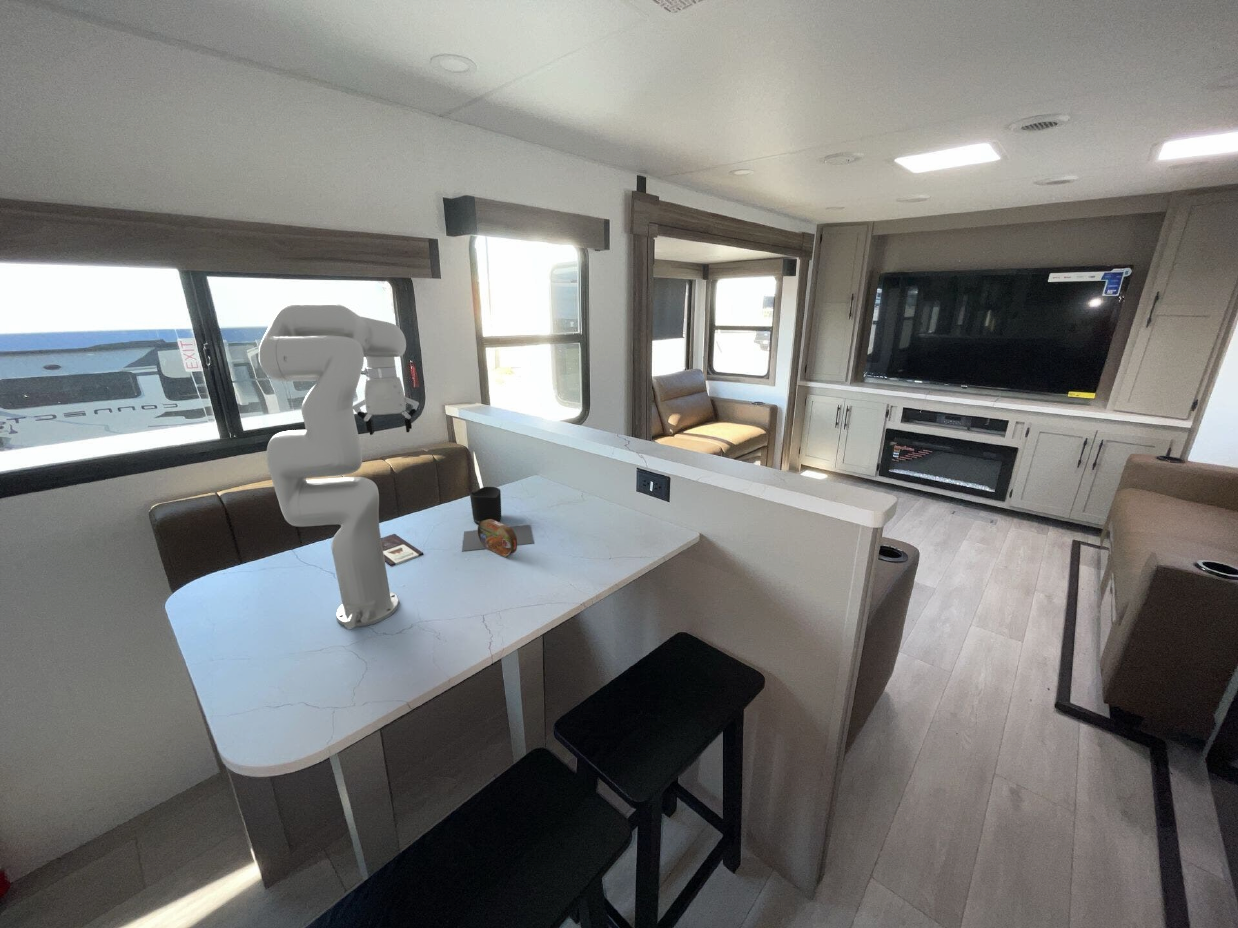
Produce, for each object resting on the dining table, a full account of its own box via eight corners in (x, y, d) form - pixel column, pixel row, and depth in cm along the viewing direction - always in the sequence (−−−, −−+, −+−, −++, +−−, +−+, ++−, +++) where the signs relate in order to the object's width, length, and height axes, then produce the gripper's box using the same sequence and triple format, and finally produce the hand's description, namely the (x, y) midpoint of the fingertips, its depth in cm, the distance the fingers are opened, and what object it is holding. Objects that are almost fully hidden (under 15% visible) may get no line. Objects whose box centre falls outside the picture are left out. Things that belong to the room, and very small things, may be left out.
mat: (533, 543, 140) (533, 542, 140) (462, 551, 135) (461, 550, 135) (530, 525, 152) (530, 524, 152) (464, 532, 147) (464, 531, 147)
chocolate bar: (394, 533, 145) (423, 552, 134) (395, 536, 145) (423, 555, 134) (363, 543, 139) (390, 564, 127) (363, 546, 139) (391, 567, 128)
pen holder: (472, 516, 158) (469, 488, 155) (501, 513, 161) (499, 485, 158) (472, 528, 150) (470, 498, 147) (503, 524, 153) (501, 495, 150)
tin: (477, 543, 139) (475, 517, 136) (487, 539, 142) (484, 513, 139) (511, 561, 130) (509, 533, 128) (520, 556, 133) (518, 529, 130)
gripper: (344, 376, 129) (354, 437, 134) (413, 373, 134) (421, 433, 139) (350, 372, 136) (359, 431, 141) (415, 370, 141) (423, 427, 146)
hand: (390, 432), depth 140 cm, fingers open, 9 cm apart
